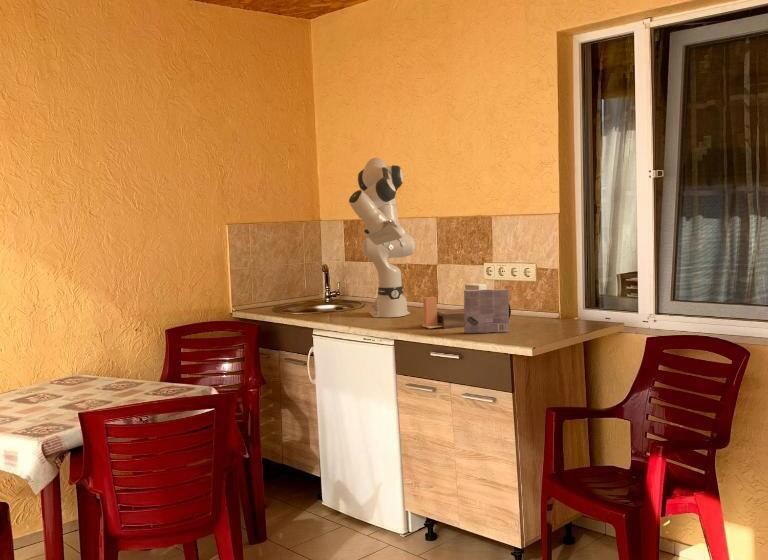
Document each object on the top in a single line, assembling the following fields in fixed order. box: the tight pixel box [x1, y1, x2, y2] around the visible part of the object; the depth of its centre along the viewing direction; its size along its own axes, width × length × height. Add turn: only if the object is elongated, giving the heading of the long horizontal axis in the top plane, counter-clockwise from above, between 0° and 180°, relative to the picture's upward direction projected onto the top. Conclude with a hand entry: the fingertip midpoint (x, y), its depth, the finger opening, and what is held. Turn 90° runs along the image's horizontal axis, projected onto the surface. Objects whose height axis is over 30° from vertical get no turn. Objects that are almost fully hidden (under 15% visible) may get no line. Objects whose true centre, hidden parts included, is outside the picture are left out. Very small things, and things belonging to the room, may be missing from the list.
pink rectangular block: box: [421, 296, 443, 329], centre depth 355 cm, size 8×21×13 cm, turn 110°
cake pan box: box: [463, 288, 512, 334], centre depth 334 cm, size 19×5×18 cm, turn 88°
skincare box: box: [464, 282, 488, 290], centre depth 377 cm, size 8×7×16 cm
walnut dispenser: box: [437, 308, 464, 330], centre depth 357 cm, size 13×18×7 cm
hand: (397, 247), depth 353 cm, fingers open, 8 cm apart
